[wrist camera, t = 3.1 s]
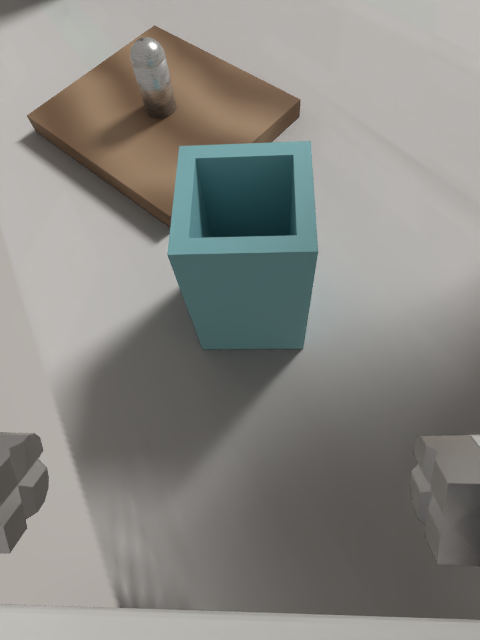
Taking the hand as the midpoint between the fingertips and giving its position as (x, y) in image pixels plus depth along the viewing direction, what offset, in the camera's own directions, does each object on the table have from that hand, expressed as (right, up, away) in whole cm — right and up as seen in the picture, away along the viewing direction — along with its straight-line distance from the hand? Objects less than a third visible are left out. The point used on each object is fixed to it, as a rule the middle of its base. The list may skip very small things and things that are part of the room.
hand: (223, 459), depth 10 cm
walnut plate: (-6, +19, +26) cm, 33 cm away
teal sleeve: (+1, +4, +18) cm, 19 cm away
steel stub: (-6, +19, +25) cm, 32 cm away
